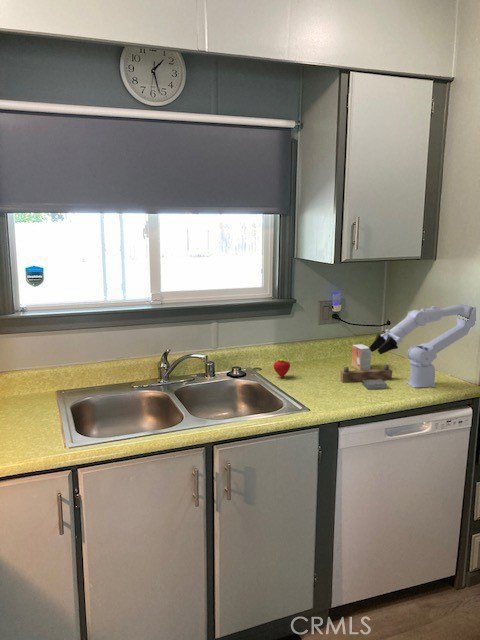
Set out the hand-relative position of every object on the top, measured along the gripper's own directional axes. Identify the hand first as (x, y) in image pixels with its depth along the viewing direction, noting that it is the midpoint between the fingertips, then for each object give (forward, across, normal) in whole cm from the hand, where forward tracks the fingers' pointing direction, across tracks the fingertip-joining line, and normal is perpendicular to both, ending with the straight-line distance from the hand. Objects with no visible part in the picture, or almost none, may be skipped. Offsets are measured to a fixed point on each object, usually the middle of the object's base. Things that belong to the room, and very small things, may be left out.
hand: (374, 351), depth 214 cm
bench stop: (+6, -15, +14) cm, 21 cm away
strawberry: (+34, -27, -6) cm, 43 cm away
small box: (0, -31, +15) cm, 35 cm away
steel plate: (+7, -6, +15) cm, 17 cm away
